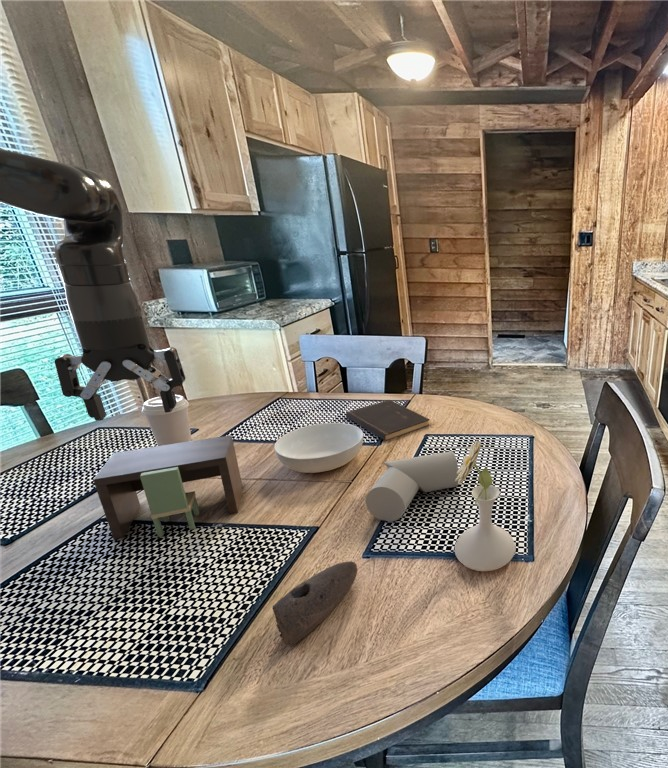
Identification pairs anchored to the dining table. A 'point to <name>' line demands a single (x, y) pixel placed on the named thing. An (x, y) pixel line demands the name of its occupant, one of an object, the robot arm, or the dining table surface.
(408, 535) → the dining table surface
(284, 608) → the perforated stone tool
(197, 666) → the dining table surface
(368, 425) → the hardcover book
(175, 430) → the coffee cup
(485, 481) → the flower in vase
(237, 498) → the desk
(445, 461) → the l-shaped cylinder
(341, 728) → the dining table surface
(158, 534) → the chair
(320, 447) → the serving bowl
